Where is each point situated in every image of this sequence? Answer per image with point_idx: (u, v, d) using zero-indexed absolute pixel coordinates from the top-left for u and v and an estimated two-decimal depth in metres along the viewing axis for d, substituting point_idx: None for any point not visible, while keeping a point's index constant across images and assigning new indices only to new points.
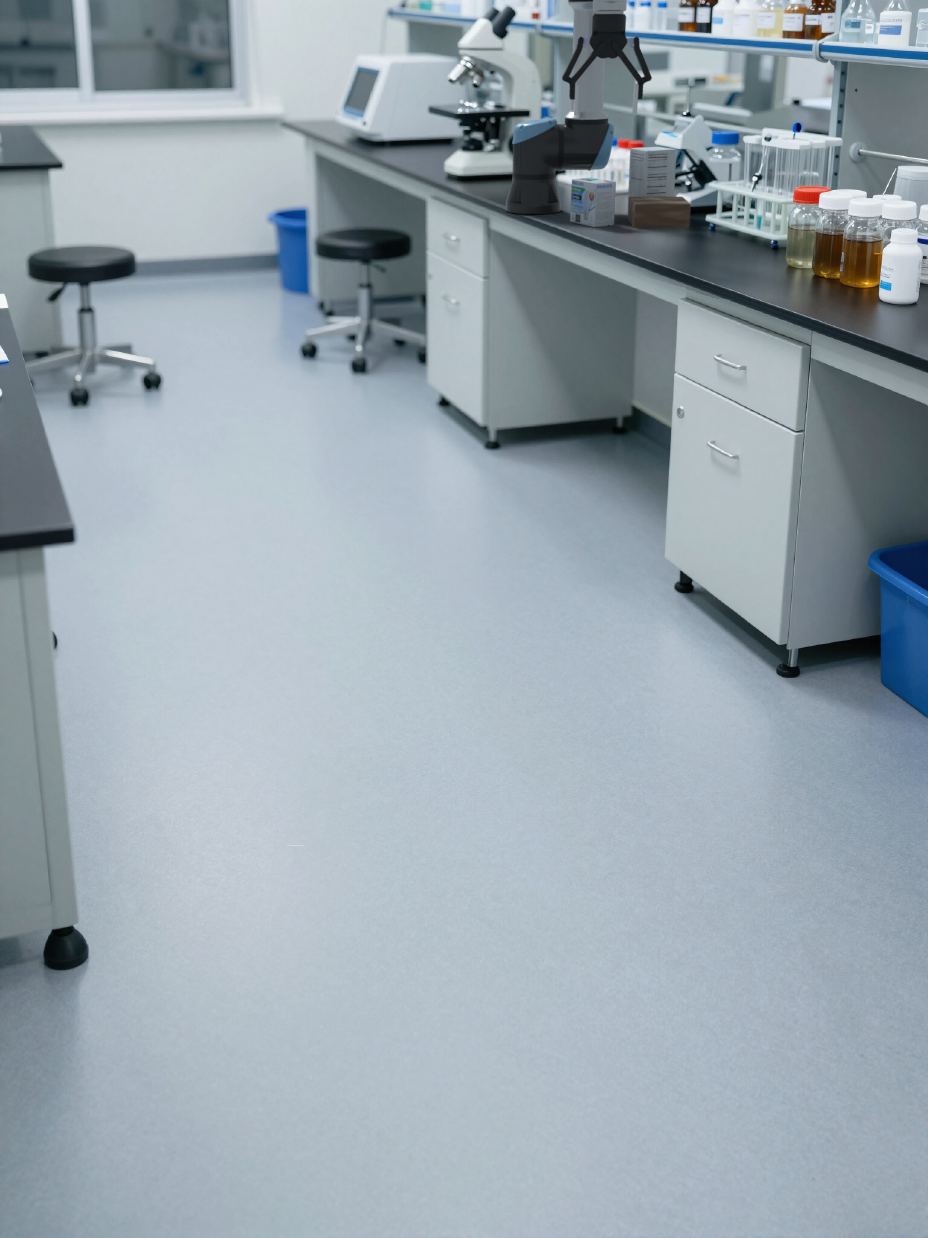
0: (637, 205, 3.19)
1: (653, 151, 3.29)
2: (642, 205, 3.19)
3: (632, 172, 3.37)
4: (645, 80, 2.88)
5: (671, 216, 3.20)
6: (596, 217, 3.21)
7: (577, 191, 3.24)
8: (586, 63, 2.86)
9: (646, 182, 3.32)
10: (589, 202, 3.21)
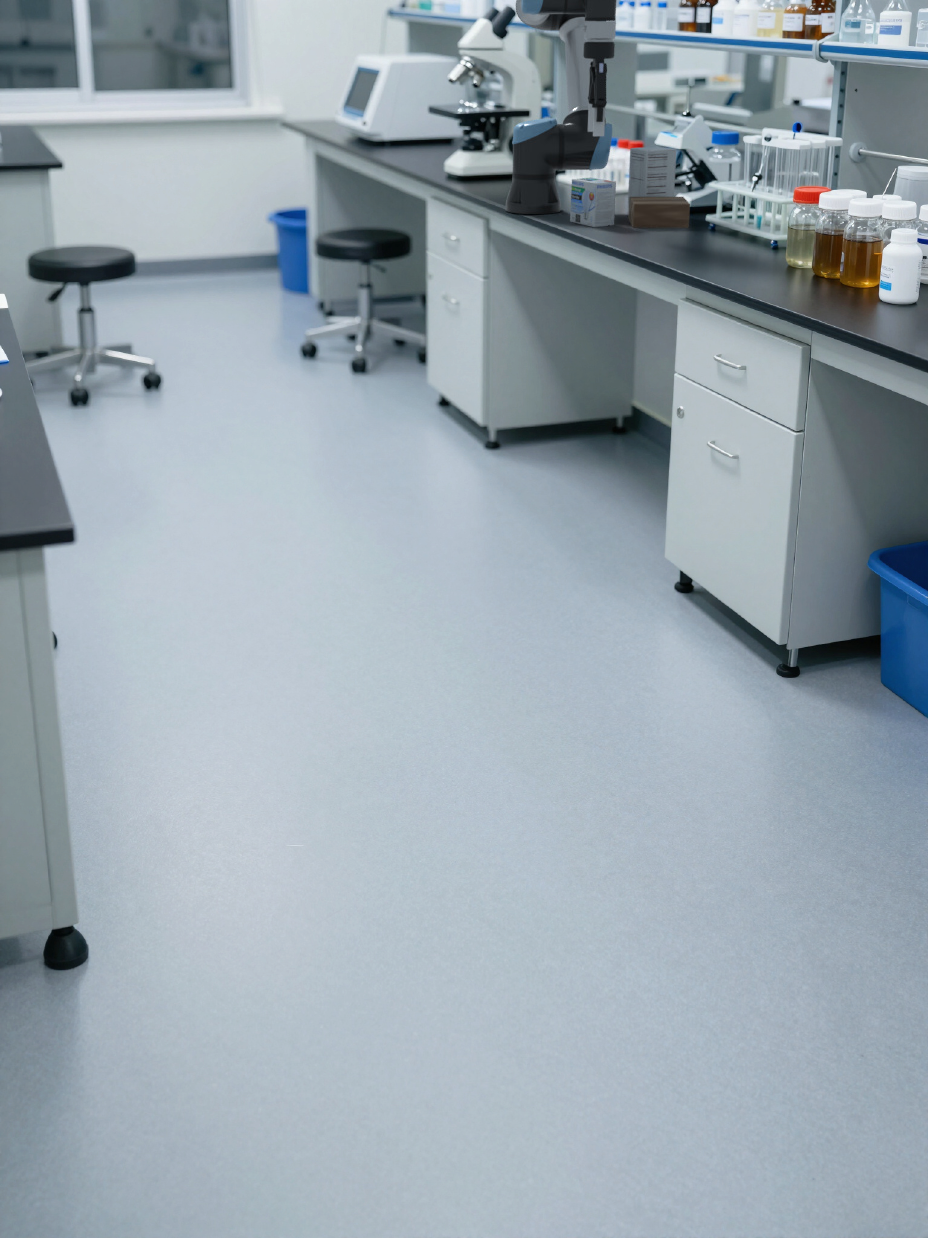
0: (636, 205, 3.19)
1: (653, 151, 3.29)
2: (641, 205, 3.19)
3: (632, 172, 3.37)
4: (597, 104, 3.06)
5: (670, 217, 3.20)
6: (596, 217, 3.21)
7: (577, 191, 3.24)
8: (590, 85, 3.17)
9: (646, 182, 3.32)
10: (589, 202, 3.21)
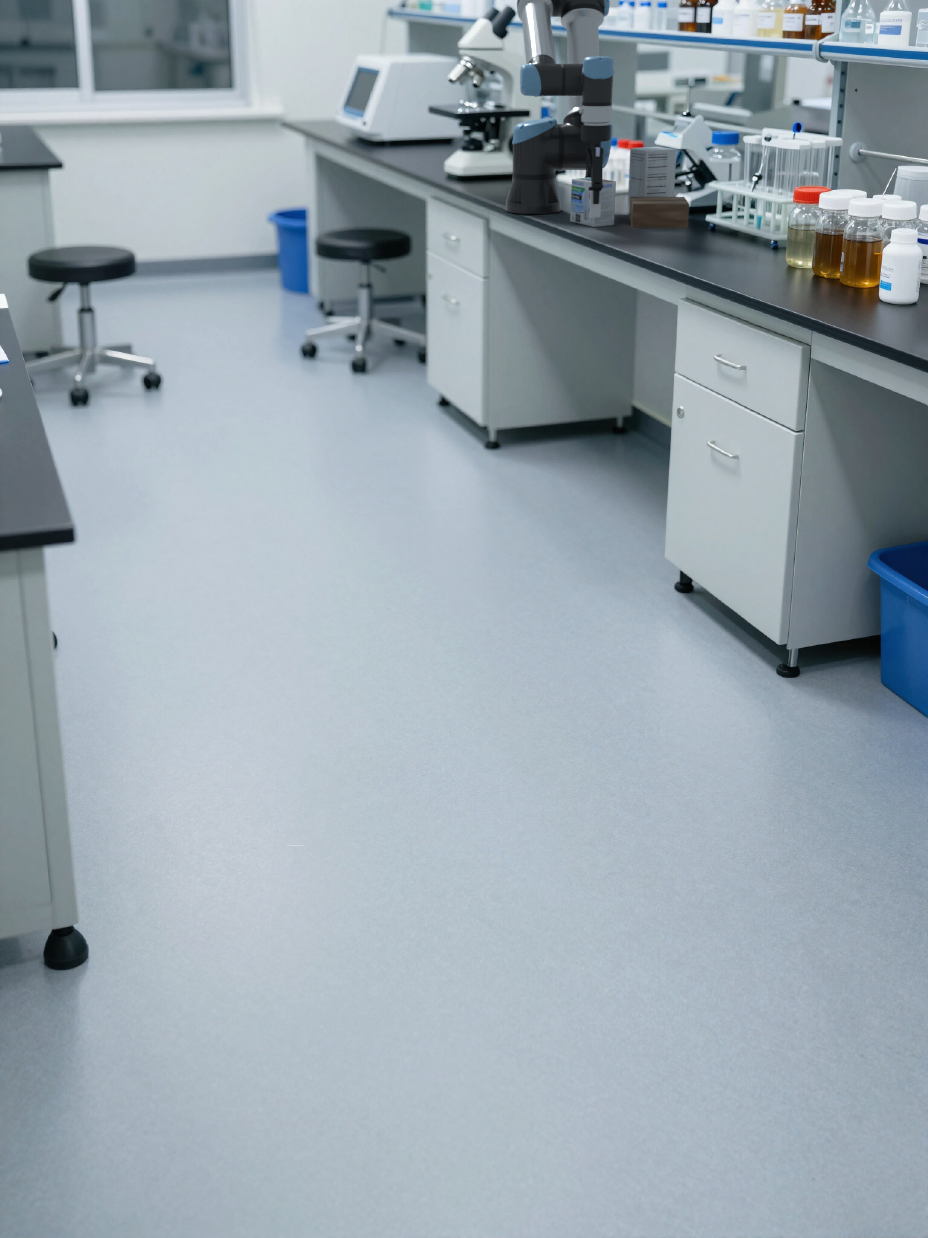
0: (635, 205, 3.19)
1: (653, 151, 3.29)
2: (640, 205, 3.19)
3: (632, 172, 3.37)
4: None
5: (669, 217, 3.20)
6: (596, 217, 3.21)
7: (577, 191, 3.24)
8: (587, 166, 3.25)
9: (646, 182, 3.32)
10: (589, 202, 3.21)
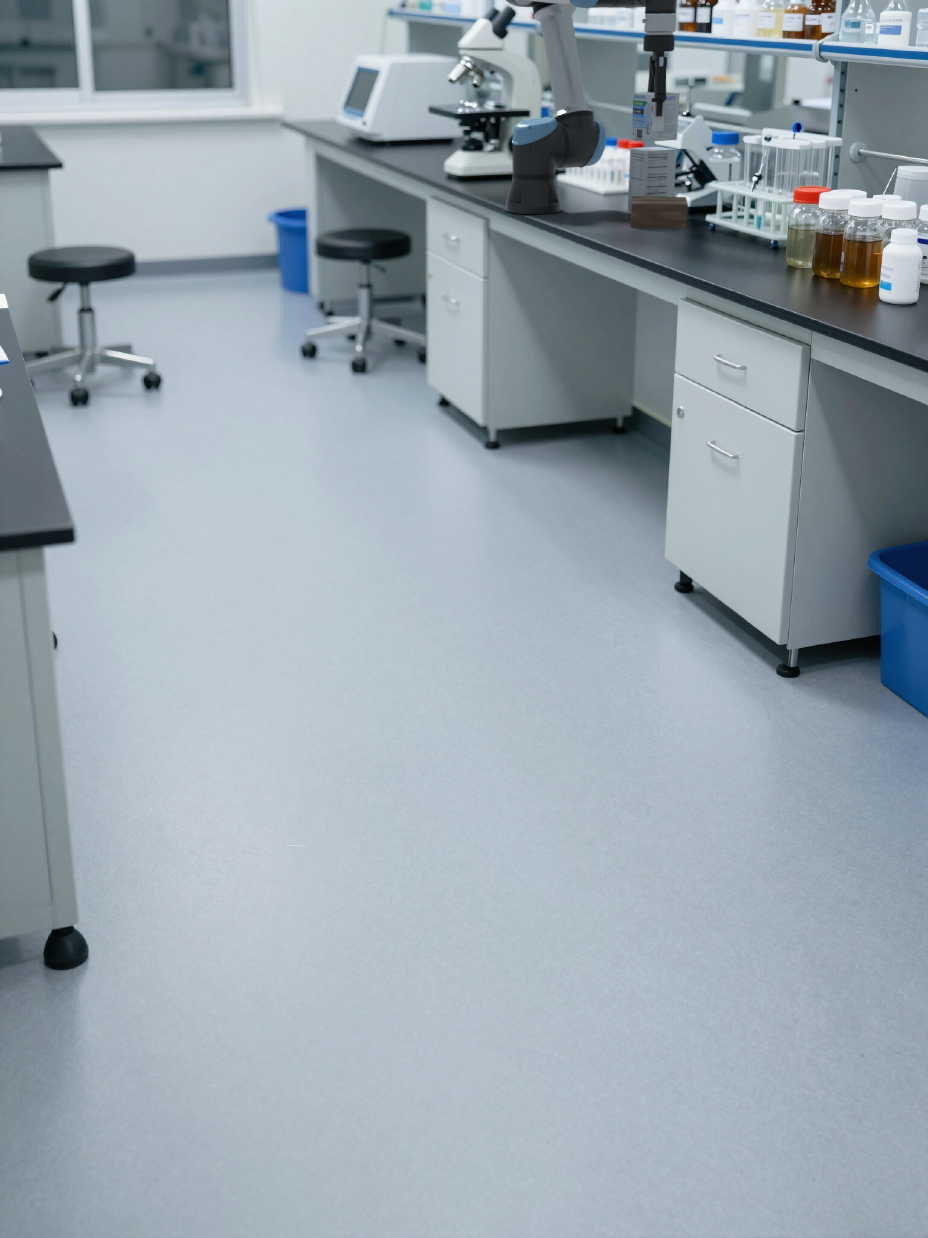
0: (634, 205, 3.19)
1: (653, 151, 3.29)
2: (639, 205, 3.19)
3: (632, 172, 3.37)
4: None
5: (667, 217, 3.20)
6: (658, 131, 3.12)
7: (639, 105, 3.15)
8: (650, 80, 3.16)
9: (646, 182, 3.32)
10: (651, 115, 3.12)
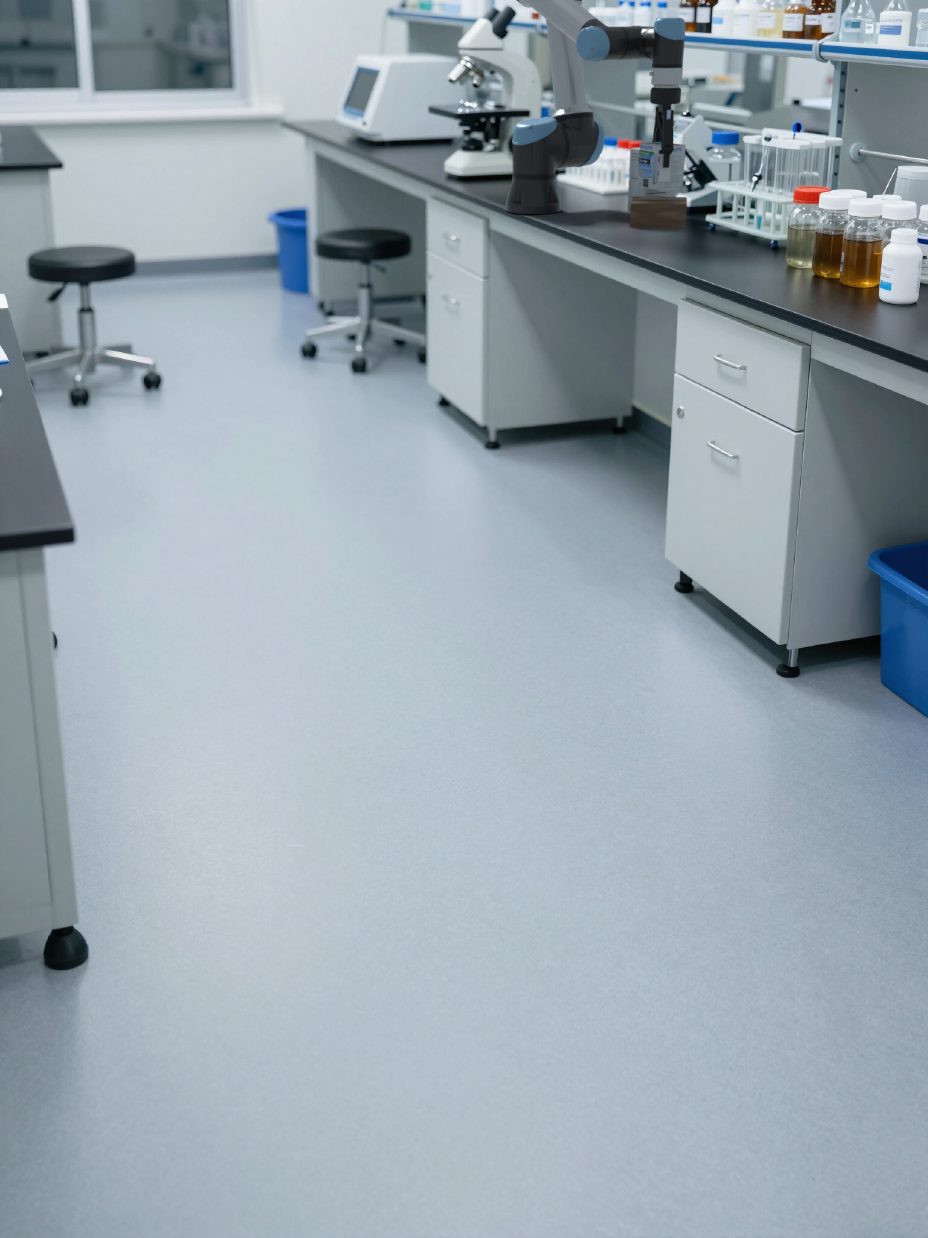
0: (632, 204, 3.20)
1: None
2: (637, 204, 3.19)
3: (632, 172, 3.37)
4: None
5: (666, 217, 3.20)
6: None
7: (645, 155, 3.20)
8: (655, 130, 3.22)
9: None
10: (658, 166, 3.17)
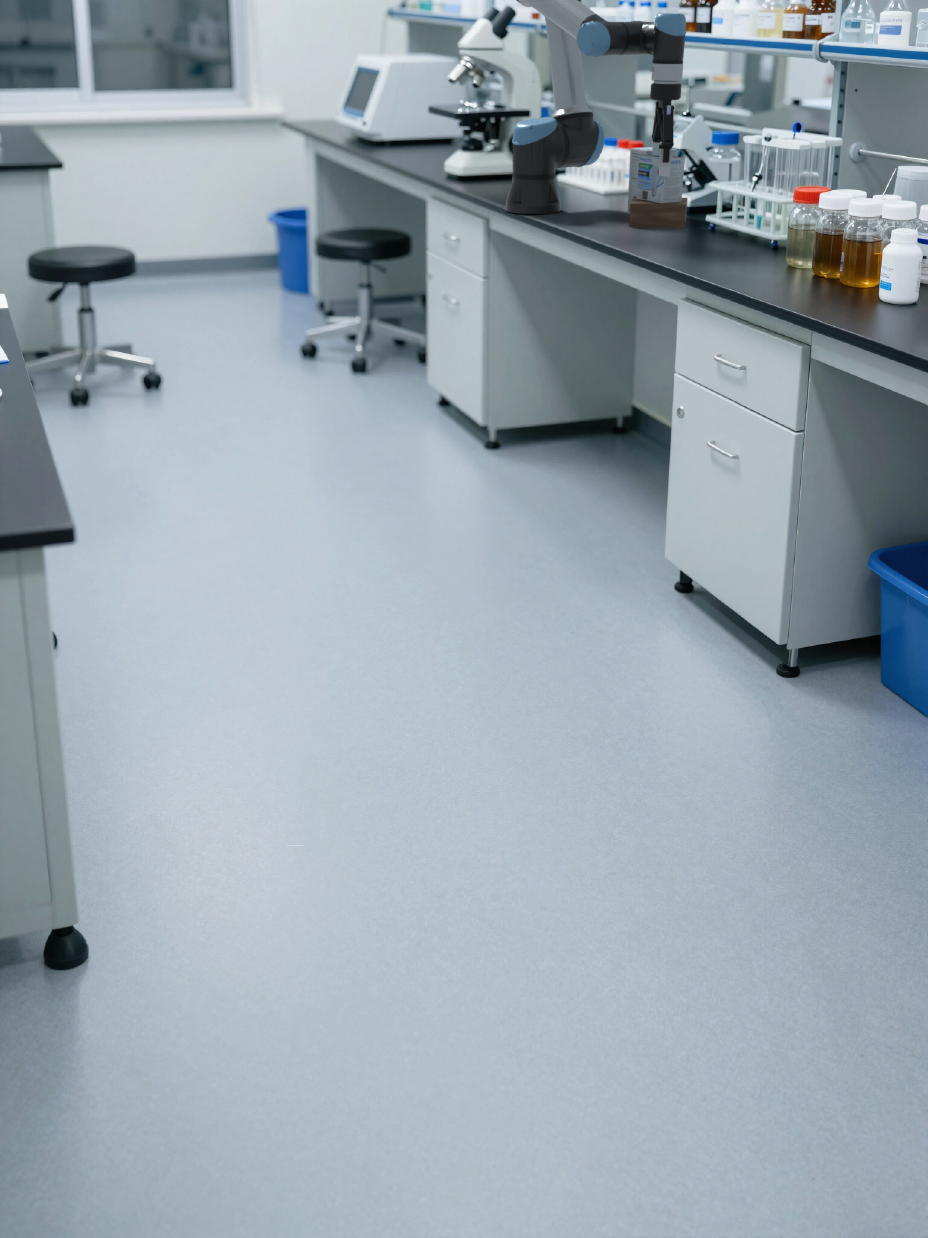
0: (632, 205, 3.20)
1: None
2: (637, 205, 3.20)
3: (632, 172, 3.37)
4: None
5: (666, 217, 3.20)
6: (664, 193, 3.18)
7: (644, 168, 3.21)
8: (655, 125, 3.22)
9: None
10: (657, 178, 3.19)
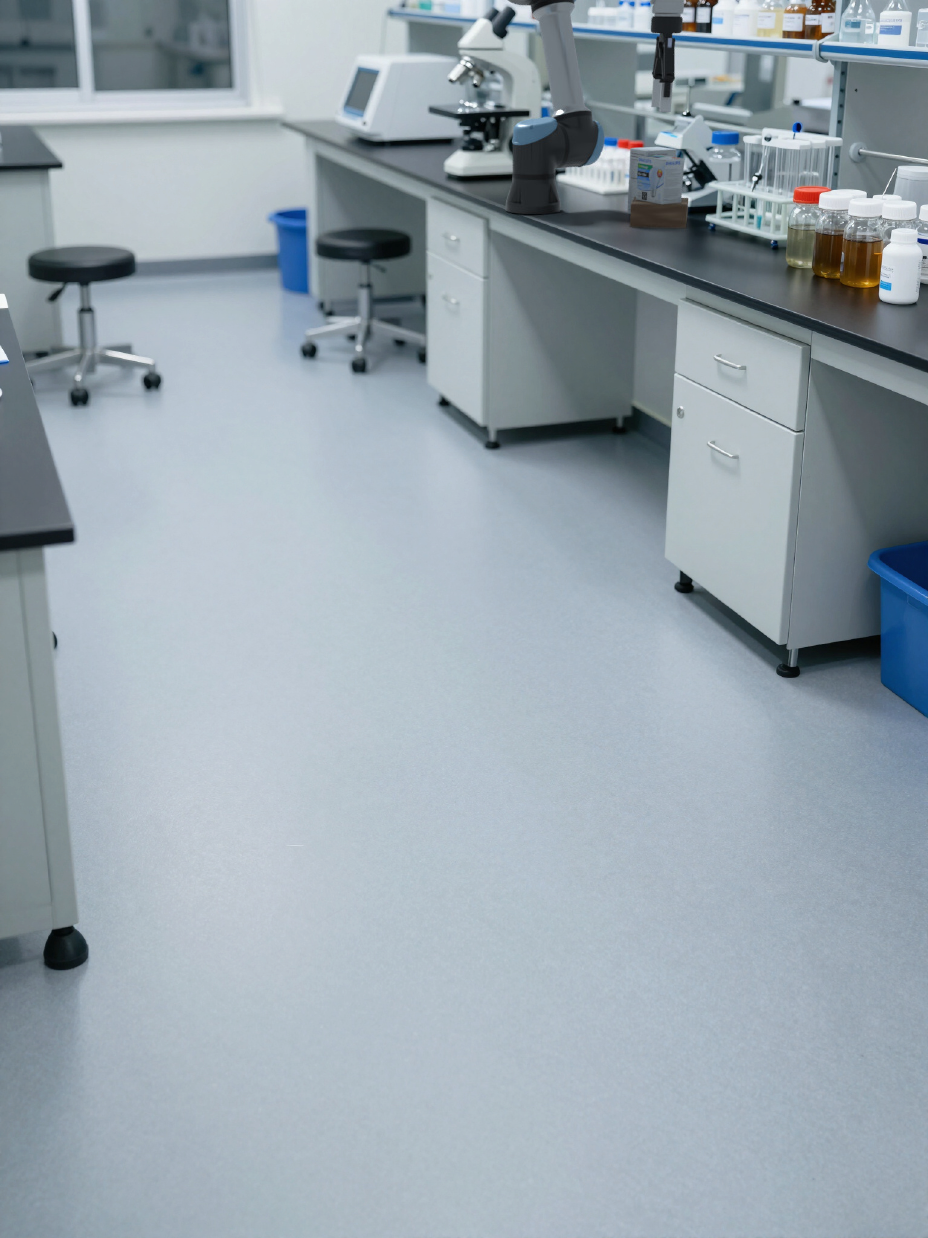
0: (633, 205, 3.20)
1: (653, 151, 3.29)
2: (638, 205, 3.20)
3: (632, 172, 3.37)
4: None
5: (667, 217, 3.20)
6: (664, 194, 3.18)
7: (644, 168, 3.21)
8: (656, 60, 3.16)
9: None
10: (656, 179, 3.18)
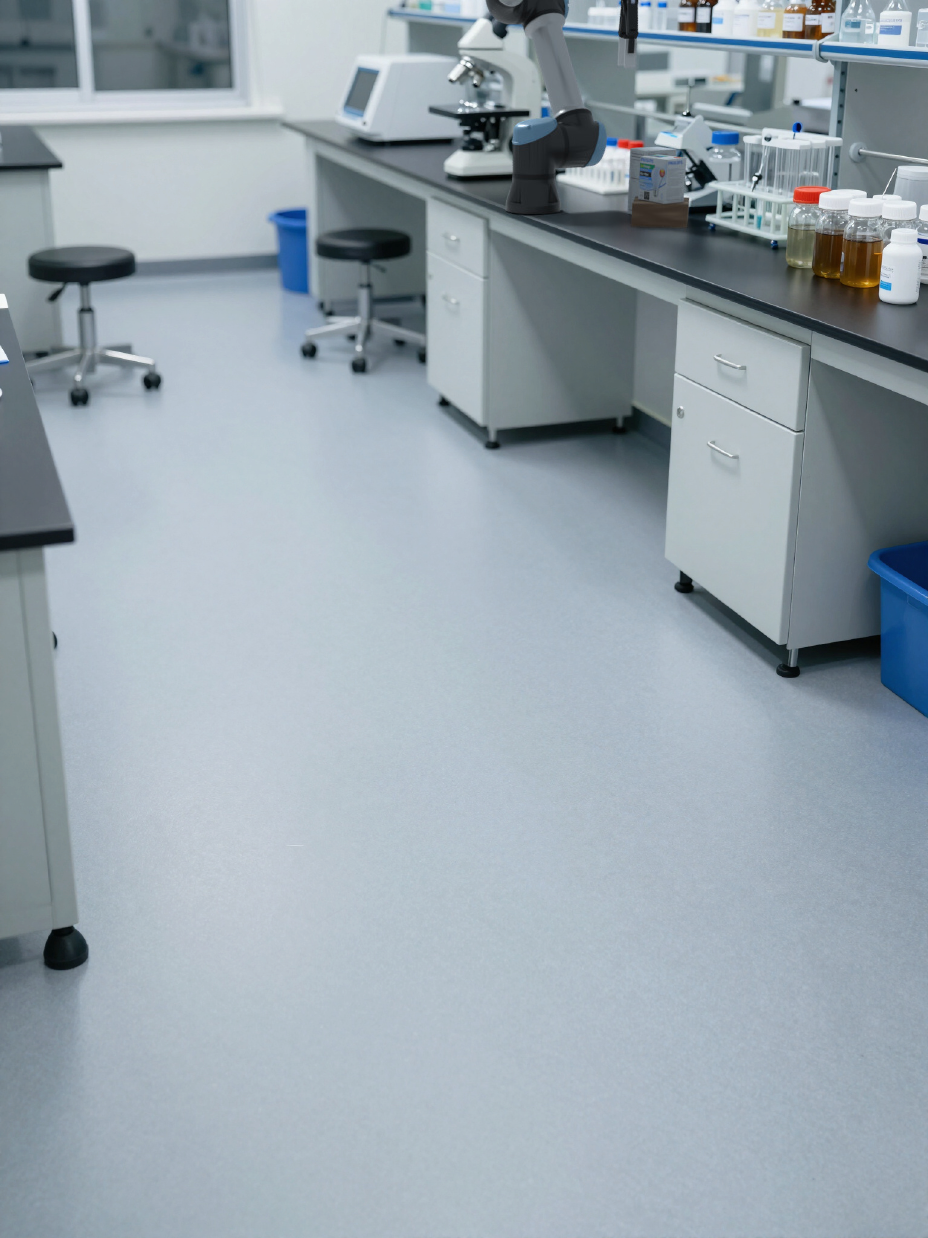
0: (634, 204, 3.20)
1: (653, 151, 3.29)
2: (639, 205, 3.20)
3: (632, 172, 3.37)
4: (629, 35, 3.08)
5: (668, 217, 3.20)
6: (666, 194, 3.19)
7: (646, 168, 3.22)
8: (621, 18, 3.19)
9: None
10: (659, 179, 3.19)
